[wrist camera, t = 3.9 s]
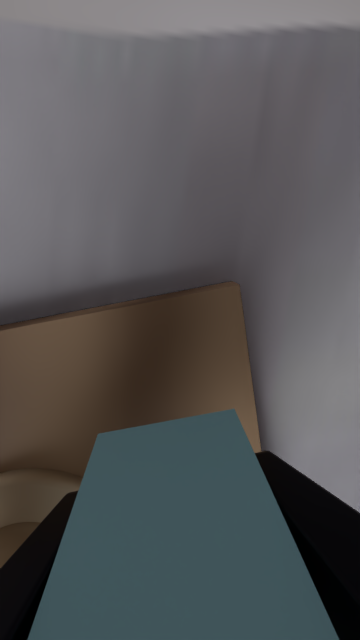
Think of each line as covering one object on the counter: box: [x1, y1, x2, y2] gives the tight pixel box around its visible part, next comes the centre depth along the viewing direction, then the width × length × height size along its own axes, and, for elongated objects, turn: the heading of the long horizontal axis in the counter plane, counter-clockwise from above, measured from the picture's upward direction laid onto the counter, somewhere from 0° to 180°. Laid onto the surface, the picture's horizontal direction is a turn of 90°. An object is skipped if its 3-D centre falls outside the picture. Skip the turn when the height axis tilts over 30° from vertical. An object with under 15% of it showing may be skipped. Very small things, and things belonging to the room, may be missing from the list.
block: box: [28, 409, 339, 640], centre depth 5 cm, size 4×4×6 cm
